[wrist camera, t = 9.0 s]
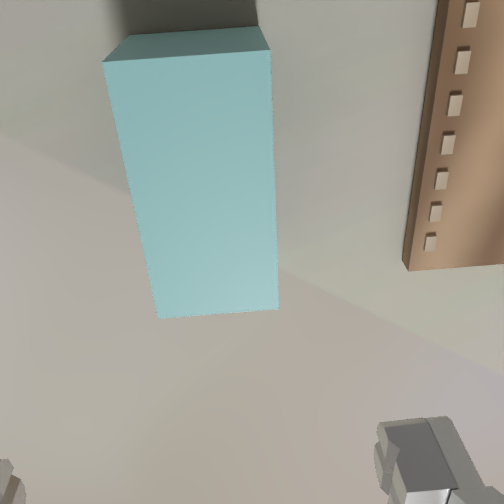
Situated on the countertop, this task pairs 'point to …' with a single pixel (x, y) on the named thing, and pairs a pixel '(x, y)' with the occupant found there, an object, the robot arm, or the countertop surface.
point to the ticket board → (460, 143)
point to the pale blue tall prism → (200, 165)
